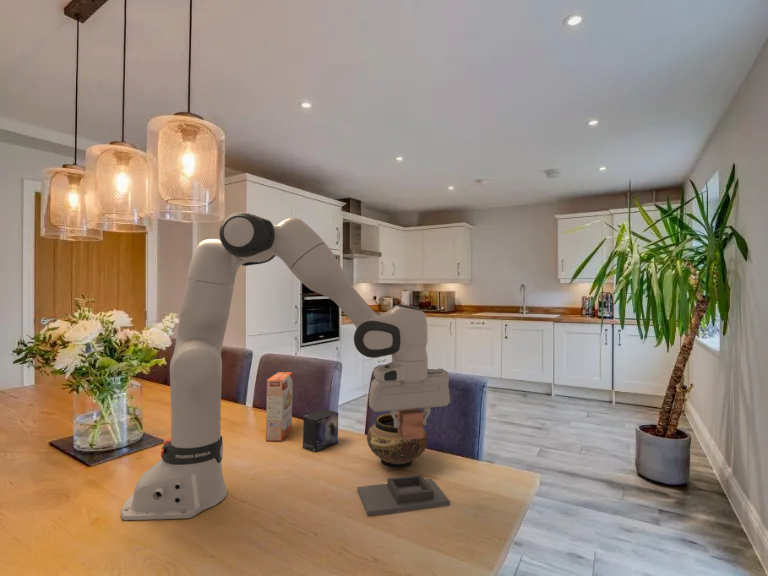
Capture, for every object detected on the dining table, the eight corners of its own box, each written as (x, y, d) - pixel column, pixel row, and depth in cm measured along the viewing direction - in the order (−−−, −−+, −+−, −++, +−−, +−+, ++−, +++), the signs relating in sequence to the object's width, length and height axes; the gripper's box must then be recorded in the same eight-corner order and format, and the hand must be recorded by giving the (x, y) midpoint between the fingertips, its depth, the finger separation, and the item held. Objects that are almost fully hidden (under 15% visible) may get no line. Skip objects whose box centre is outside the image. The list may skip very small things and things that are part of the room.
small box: (315, 453, 128) (315, 419, 128) (301, 448, 132) (301, 415, 132) (339, 443, 137) (339, 411, 137) (325, 439, 141) (325, 408, 141)
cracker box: (283, 441, 138) (283, 379, 138) (265, 441, 138) (265, 379, 138) (293, 428, 152) (293, 371, 152) (277, 427, 152) (277, 371, 152)
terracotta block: (397, 432, 103) (397, 409, 103) (416, 431, 104) (416, 407, 104) (403, 439, 98) (403, 414, 98) (423, 437, 100) (423, 413, 100)
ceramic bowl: (393, 495, 107) (405, 443, 105) (342, 463, 117) (353, 414, 115) (435, 463, 127) (446, 418, 126) (389, 438, 137) (399, 396, 135)
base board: (367, 516, 92) (367, 502, 92) (357, 490, 104) (357, 479, 104) (449, 504, 97) (449, 492, 97) (431, 482, 109) (431, 470, 109)
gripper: (443, 365, 107) (444, 418, 107) (367, 369, 102) (367, 425, 102) (453, 370, 101) (454, 426, 101) (373, 375, 96) (373, 434, 96)
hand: (410, 426), depth 101 cm, fingers closed on terracotta block, 5 cm apart
